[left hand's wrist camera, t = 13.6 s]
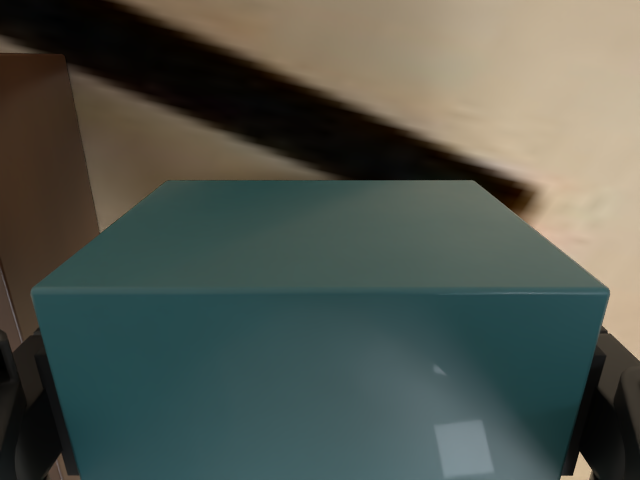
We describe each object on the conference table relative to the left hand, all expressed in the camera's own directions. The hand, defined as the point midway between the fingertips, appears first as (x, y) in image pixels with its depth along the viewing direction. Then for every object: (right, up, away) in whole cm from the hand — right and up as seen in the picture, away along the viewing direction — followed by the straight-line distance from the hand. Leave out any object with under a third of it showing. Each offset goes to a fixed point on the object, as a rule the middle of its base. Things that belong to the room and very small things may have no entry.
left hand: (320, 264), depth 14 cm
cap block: (0, 0, -1) cm, 1 cm away
